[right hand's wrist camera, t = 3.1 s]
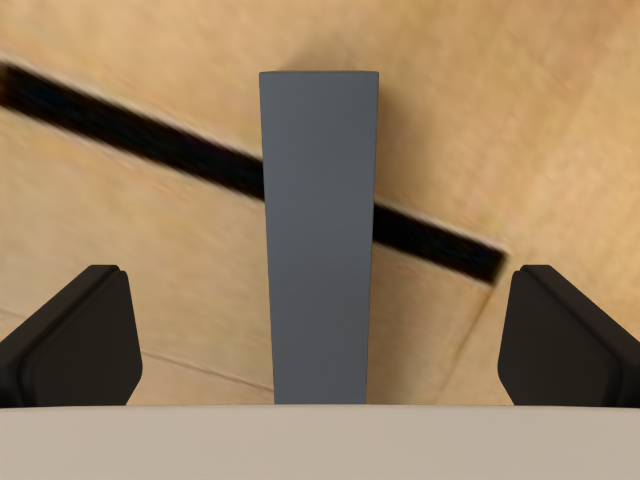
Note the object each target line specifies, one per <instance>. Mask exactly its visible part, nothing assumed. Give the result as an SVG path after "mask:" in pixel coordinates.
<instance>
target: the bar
mask: <svg viewBox="0 0 640 480" xmlns="http://www.w3.org/2000/svg"><path fill="white" fill-rule="evenodd" d="M378 85H379V73H378V72H373V71H269V72H260V73H259V86H260V107H261V128H262V149H263V170H264V191H265V212H266V233H267V254H268V275H269V296H270V317H271V338H272V359H273V380H274V401H275V405H289V404H366V380H367V355H368V331H369V306H370V282H371V257H372V232H373V208H374V183H375V159H376V134H377V109H378Z"/></svg>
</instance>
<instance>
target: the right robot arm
mask: <svg viewBox="0 0 640 480" xmlns="http://www.w3.org/2000/svg"><path fill="white" fill-rule="evenodd" d="M141 375H142V359H141V353H140V347H139V341H138V335H137V329H136V323H135V317H134V311H133V305H132V299H131V293H130V287H129V281H128V276H127V273H126V272H125V271H120V269H119V267H118V266H117V265H90V266H89V267H87V268H86V269H85V270H84V271H83V272H82V273H81V274H79V275H78V276H77V277H76V278H75V279H74V280H72V281H71V282H70V283H69V284H68V285H67V286H65V287H64V288H63V289H62V290H61V291H60V292H58V293H57V294H56V295H55V296H54V297H53V298H51V299H50V300H49V301H48V302H47V303H46V304H44V305H43V306H42V307H41V308H40V309H39V310H37V311H36V312H35V313H34V314H33V315H32V316H30V317H29V318H28V319H27V320H26V321H25V322H23V323H22V324H21V325H20V326H19V327H18V328H16V329H15V330H14V331H13V332H12V333H11V334H9V335H8V336H7V337H6V338H5V339H4V340H2V341H1V342H0V480H640V342H639V341H638V340H636V339H635V338H634V337H633V336H632V335H631V334H629V333H628V332H627V331H626V330H625V329H624V328H622V327H621V326H620V325H619V324H618V323H617V322H615V321H614V320H613V319H612V318H611V317H610V316H608V315H607V314H606V313H605V312H604V311H603V310H601V309H600V308H599V307H598V306H597V305H596V304H594V303H593V302H592V301H591V300H590V299H589V298H587V297H586V296H585V295H584V294H583V293H582V292H580V291H579V290H578V289H577V288H576V287H575V286H573V285H572V284H571V283H570V282H569V281H568V280H566V279H565V278H564V277H563V276H562V275H561V274H559V273H558V272H557V271H556V270H555V269H554V268H552V267H551V266H550V265H523V266H522V267H521V269H520V271H515V272H514V273H513V276H512V281H511V287H510V293H509V299H508V305H507V311H506V317H505V323H504V329H503V335H502V341H501V347H500V353H499V359H498V375H499V379H500V381H501V383H502V384H503V386H504V388H505V389H506V391H507V393H508V395H509V396H510V398H511V400H512V402H513V403H514V405H515V406H490V405H374V404H289V405H150V406H125V405H126V403H127V402H128V400H129V398H130V396H131V395H132V393H133V391H134V389H135V388H136V386H137V384H138V383H139V381H140V379H141Z"/></svg>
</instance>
